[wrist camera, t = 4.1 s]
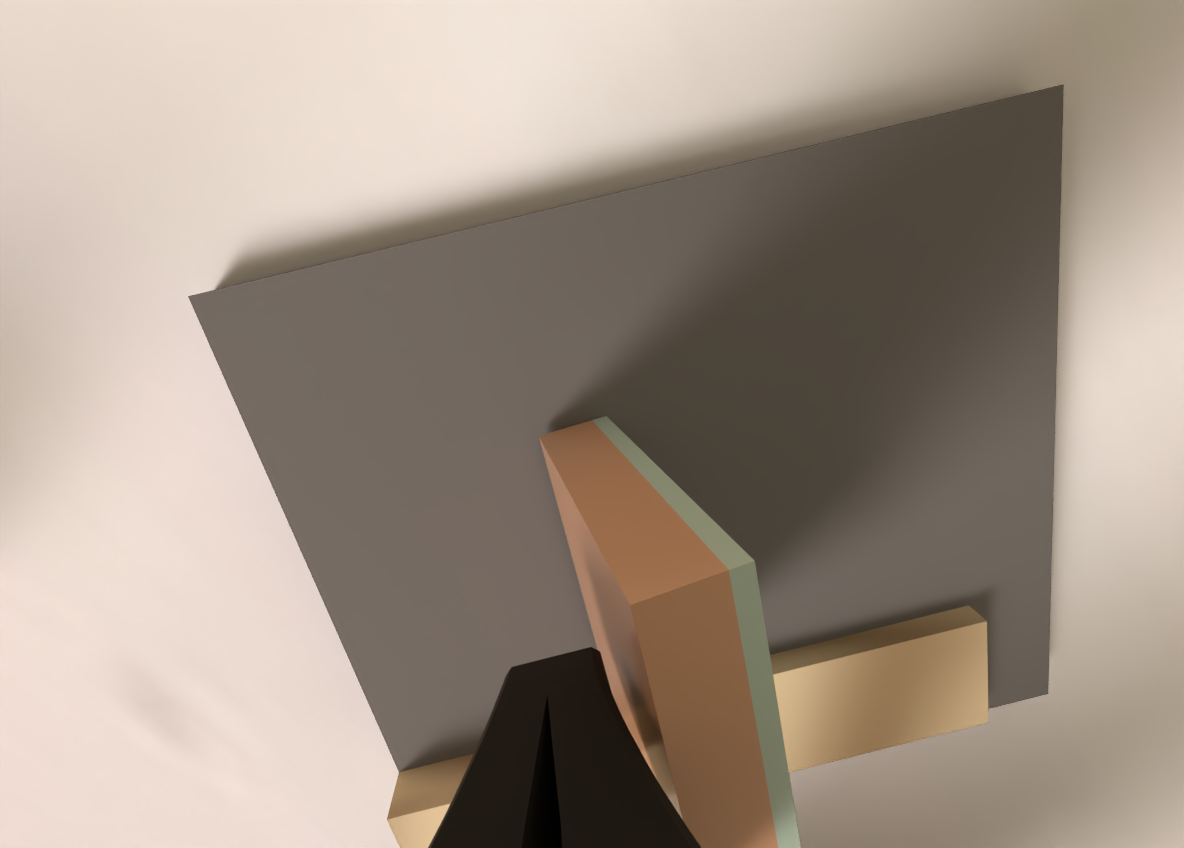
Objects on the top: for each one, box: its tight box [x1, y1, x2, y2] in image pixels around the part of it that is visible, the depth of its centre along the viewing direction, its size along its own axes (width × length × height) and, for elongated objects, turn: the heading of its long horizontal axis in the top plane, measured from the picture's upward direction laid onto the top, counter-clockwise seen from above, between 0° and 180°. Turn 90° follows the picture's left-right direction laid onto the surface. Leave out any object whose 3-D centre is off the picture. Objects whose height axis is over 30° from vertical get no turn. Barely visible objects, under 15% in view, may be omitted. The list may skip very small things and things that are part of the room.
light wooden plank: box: [387, 605, 989, 848], centre depth 14 cm, size 14×3×1 cm, turn 103°
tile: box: [539, 416, 801, 848], centre depth 10 cm, size 1×6×6 cm, turn 13°
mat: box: [188, 85, 1064, 772], centre depth 13 cm, size 16×14×1 cm
